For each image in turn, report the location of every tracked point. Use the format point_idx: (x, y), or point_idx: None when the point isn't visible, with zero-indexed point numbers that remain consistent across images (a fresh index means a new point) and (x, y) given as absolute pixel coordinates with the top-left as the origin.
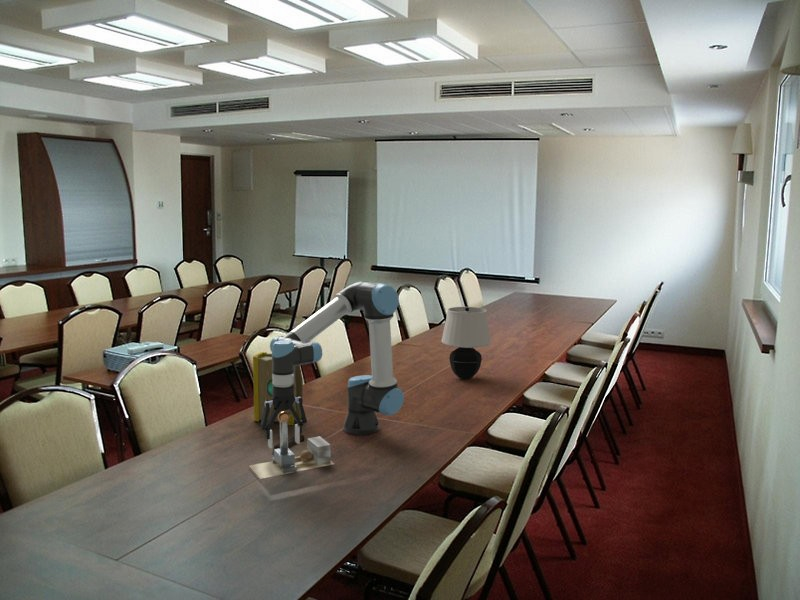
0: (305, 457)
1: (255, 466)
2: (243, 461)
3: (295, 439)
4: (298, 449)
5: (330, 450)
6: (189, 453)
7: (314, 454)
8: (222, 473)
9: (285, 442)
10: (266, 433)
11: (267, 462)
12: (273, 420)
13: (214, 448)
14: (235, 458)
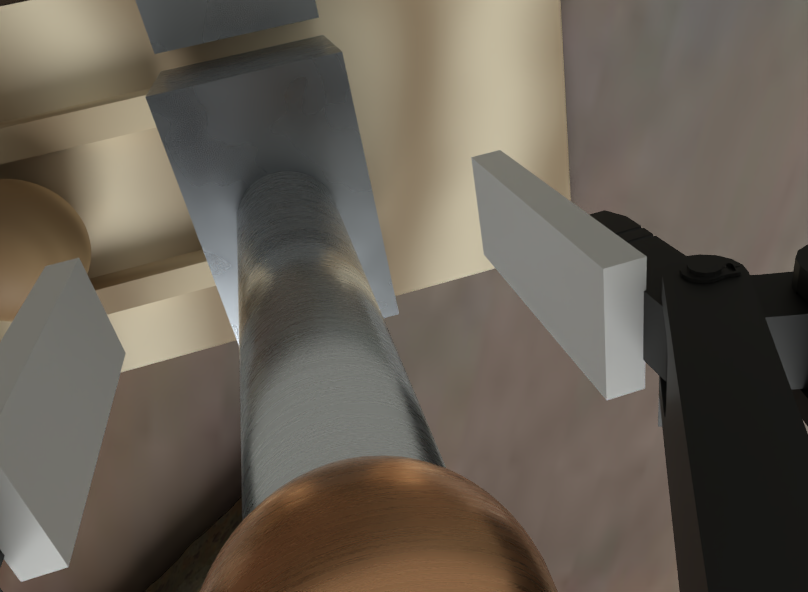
0: (14, 191)
1: None
2: (557, 382)
3: (111, 357)
4: (128, 543)
5: None
6: None
7: None
8: (742, 203)
9: (282, 225)
10: (677, 253)
11: (418, 282)
12: (721, 436)
13: (660, 568)
14: (593, 433)
